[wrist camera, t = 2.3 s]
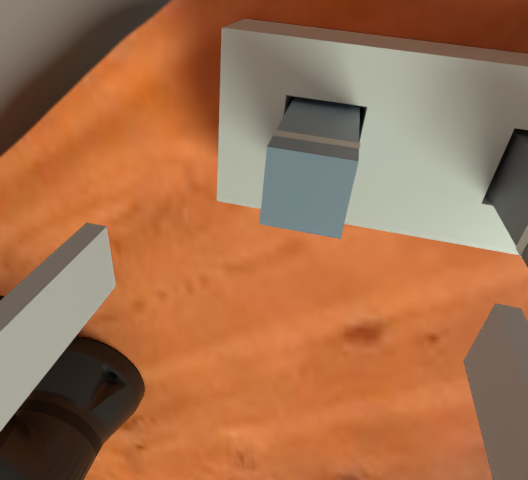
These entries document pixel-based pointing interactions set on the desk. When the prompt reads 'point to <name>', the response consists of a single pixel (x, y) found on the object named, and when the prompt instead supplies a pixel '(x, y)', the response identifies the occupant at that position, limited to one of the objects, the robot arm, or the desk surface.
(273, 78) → the block
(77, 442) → the robot arm
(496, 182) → the charcoal plug
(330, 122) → the slate plug
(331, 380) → the desk surface
